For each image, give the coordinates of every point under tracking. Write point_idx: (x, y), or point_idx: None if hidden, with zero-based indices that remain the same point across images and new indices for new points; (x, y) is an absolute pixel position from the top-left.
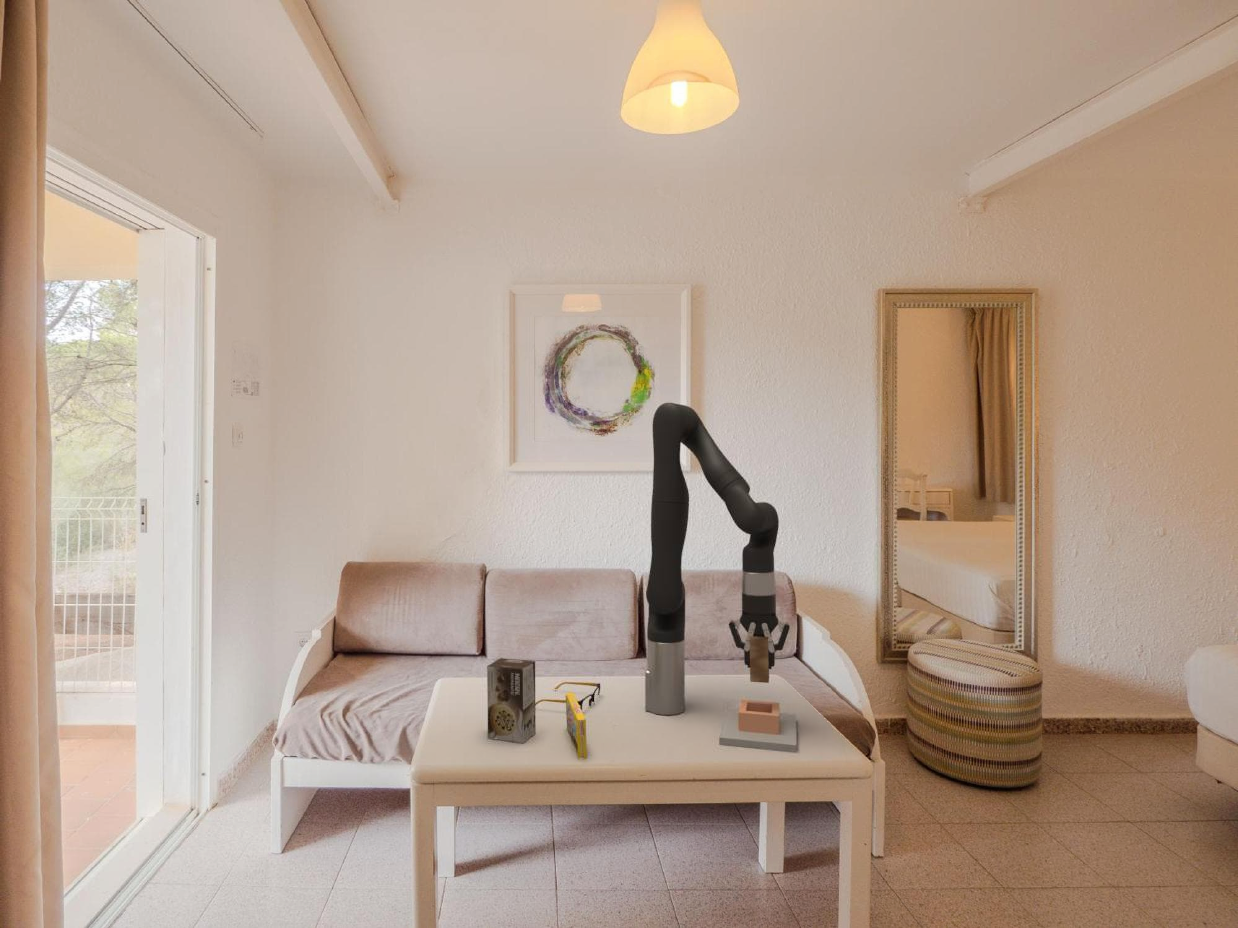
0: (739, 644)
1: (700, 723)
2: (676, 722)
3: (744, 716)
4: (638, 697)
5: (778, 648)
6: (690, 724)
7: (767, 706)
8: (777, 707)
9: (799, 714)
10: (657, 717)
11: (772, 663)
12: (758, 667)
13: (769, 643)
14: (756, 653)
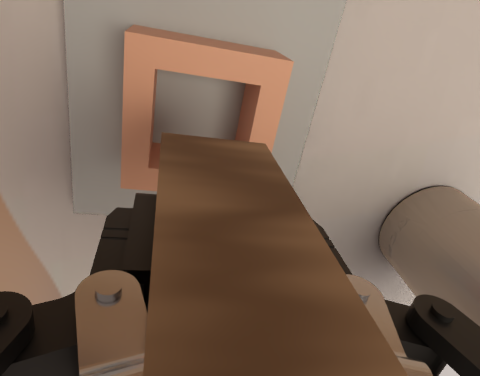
0: (439, 319)
1: (361, 146)
2: (423, 144)
3: (266, 55)
4: None
5: (18, 307)
6: (390, 135)
7: None
8: (128, 137)
9: (69, 247)
10: (460, 170)
11: (123, 219)
12: (232, 178)
13: (126, 354)
14: (269, 241)
